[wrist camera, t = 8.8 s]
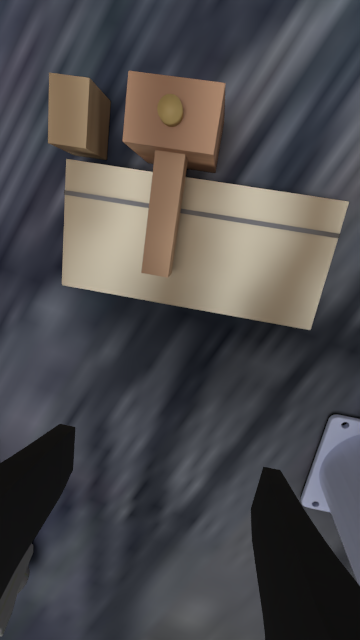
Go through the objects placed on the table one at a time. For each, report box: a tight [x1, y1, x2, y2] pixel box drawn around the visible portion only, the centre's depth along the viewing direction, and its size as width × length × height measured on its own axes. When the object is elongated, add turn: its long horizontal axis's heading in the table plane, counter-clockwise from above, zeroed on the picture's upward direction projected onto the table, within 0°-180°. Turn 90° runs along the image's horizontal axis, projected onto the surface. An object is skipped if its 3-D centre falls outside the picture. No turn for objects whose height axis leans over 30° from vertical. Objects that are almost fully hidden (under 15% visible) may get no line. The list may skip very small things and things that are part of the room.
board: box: [62, 159, 349, 330], centre depth 18 cm, size 15×7×2 cm, turn 81°
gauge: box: [123, 71, 225, 278], centre depth 16 cm, size 4×8×6 cm, turn 171°
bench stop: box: [48, 73, 111, 160], centre depth 17 cm, size 2×3×3 cm, turn 171°
